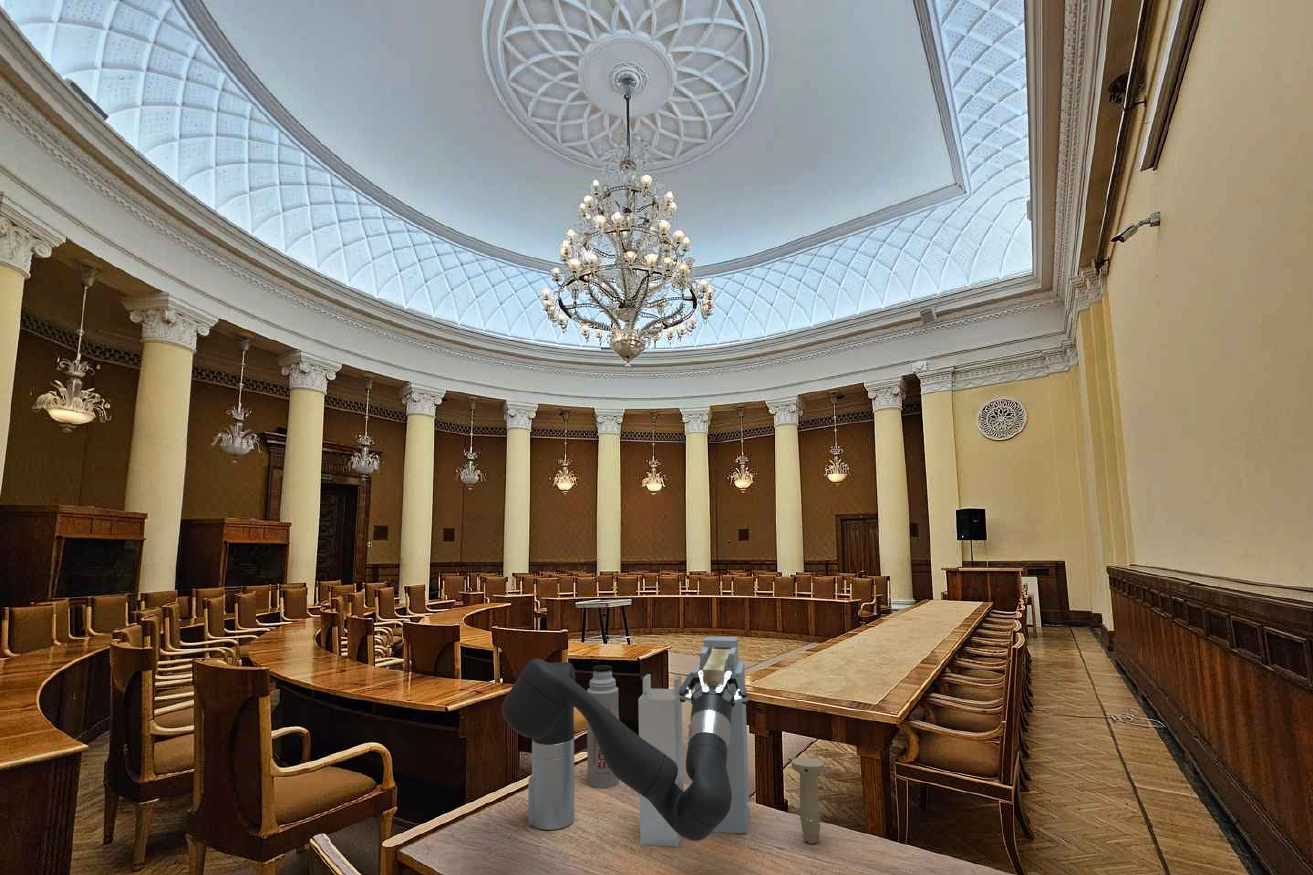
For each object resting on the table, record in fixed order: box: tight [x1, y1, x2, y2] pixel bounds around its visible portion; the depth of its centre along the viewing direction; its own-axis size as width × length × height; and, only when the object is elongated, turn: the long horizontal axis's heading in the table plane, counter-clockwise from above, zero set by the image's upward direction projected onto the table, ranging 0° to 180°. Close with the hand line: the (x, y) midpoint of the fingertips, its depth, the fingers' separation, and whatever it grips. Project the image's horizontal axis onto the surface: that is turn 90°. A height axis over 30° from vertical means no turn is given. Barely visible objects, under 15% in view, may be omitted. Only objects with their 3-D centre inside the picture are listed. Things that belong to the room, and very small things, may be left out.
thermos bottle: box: [586, 664, 620, 789], centre depth 166 cm, size 8×8×28 cm
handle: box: [791, 757, 825, 845], centre depth 133 cm, size 5×6×15 cm
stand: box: [693, 636, 751, 834], centre depth 144 cm, size 10×12×38 cm
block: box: [703, 647, 731, 686], centre depth 139 cm, size 4×22×4 cm, turn 169°
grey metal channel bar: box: [637, 673, 685, 848], centre depth 137 cm, size 8×9×31 cm
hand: (716, 662), depth 136 cm, fingers closed on block, 4 cm apart
